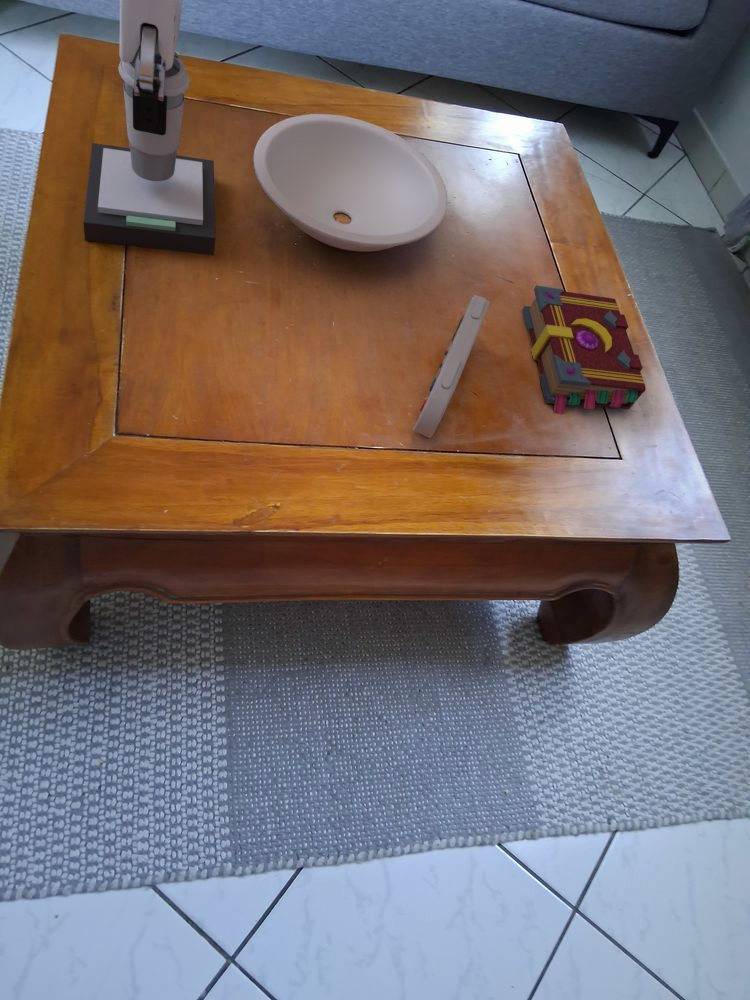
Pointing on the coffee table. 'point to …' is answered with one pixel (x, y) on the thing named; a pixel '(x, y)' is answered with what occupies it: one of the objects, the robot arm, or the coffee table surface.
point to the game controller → (451, 367)
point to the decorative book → (582, 350)
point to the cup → (159, 151)
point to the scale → (150, 203)
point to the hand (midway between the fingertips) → (153, 108)
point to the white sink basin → (350, 181)
